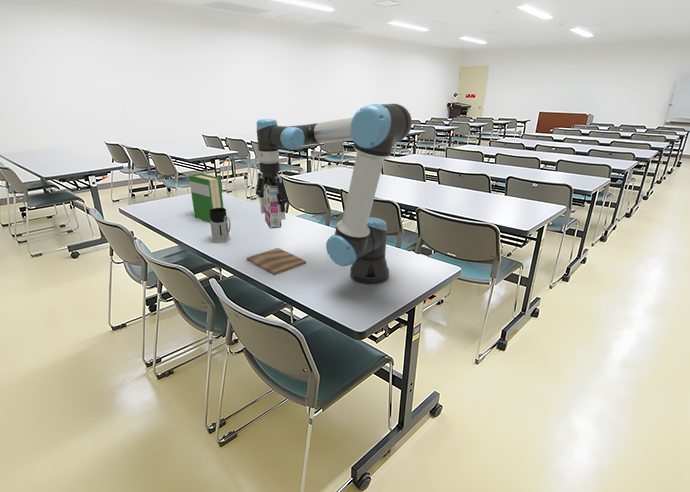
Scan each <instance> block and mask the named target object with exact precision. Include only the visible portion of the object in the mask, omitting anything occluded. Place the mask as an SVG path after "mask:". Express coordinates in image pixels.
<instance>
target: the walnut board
mask: <svg viewBox="0 0 690 492" xmlns="http://www.w3.org/2000/svg"><path fill="white" fill-rule="evenodd" d="M246 261H248V262H249V263H251V264H253V265H254V266H257V267H259V268H260V269H262V270H264V271H266V272H267V273H269V274H272V275H273V276H275V275H277V274H281V273H284V272H286V271H288V270H292V269H294V268H297V267H300V266H302V265H306V263H307V261H306V260H305V259H303V258H300V257H298V256H296V255H294V254H292V253H290V252H288V251H285V250H284V249H281V248H279V247H276V248H272V249H269V250H267V251H264V252H259V253H256V254H254V255H250V256H248V257H247V256H246Z"/></svg>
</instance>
